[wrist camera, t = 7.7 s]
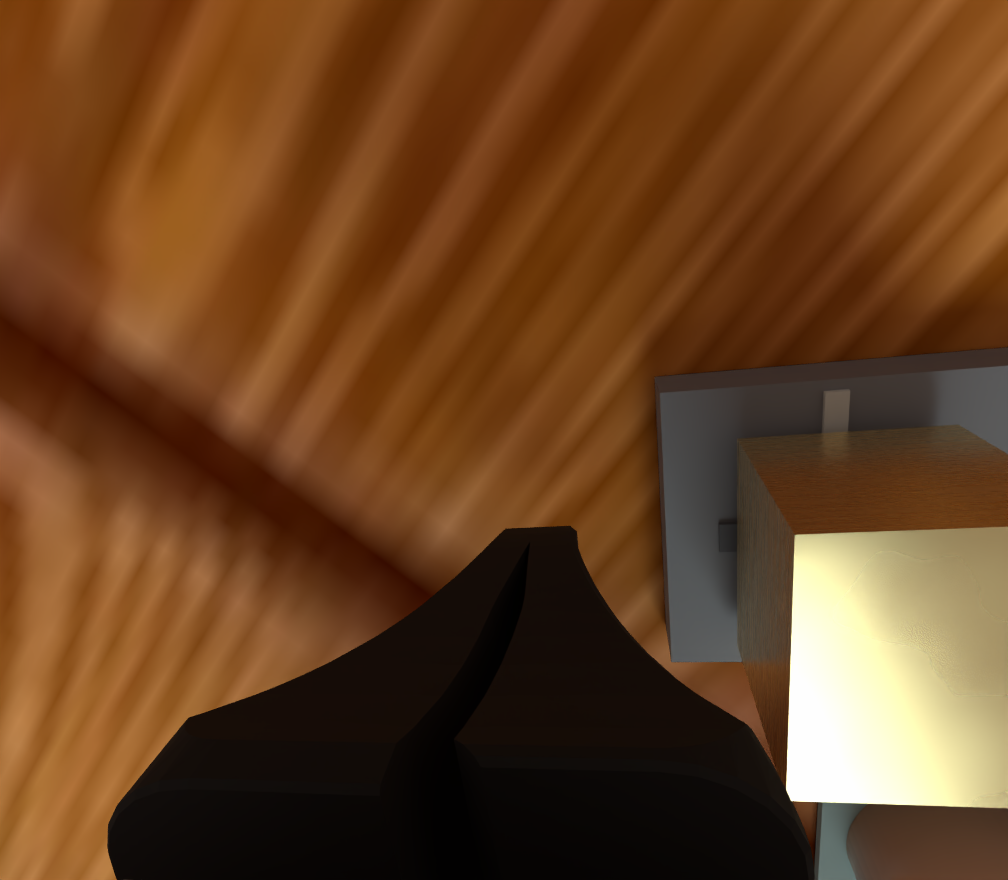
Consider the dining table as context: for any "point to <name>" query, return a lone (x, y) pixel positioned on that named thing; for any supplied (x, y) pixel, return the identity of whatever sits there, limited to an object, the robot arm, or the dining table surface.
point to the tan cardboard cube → (877, 613)
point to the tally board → (779, 412)
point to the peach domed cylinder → (928, 843)
